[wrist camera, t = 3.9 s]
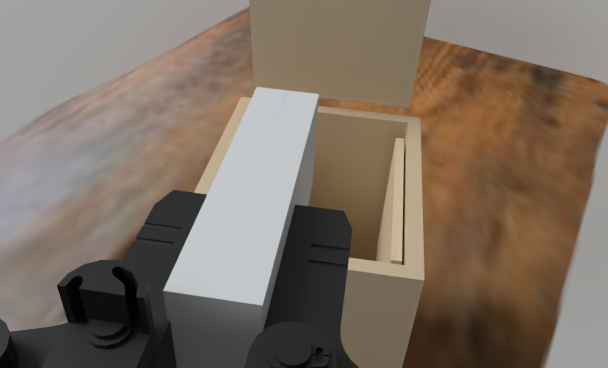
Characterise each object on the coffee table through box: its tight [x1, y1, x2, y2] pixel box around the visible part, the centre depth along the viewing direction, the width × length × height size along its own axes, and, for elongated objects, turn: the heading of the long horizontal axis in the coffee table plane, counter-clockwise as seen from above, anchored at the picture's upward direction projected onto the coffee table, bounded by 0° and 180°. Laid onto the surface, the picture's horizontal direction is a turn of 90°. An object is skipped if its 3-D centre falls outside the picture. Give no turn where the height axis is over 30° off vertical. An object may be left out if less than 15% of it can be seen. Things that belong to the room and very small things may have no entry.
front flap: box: [250, 0, 431, 108], centre depth 26 cm, size 8×8×1 cm
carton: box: [194, 97, 424, 368], centre depth 28 cm, size 9×11×14 cm
